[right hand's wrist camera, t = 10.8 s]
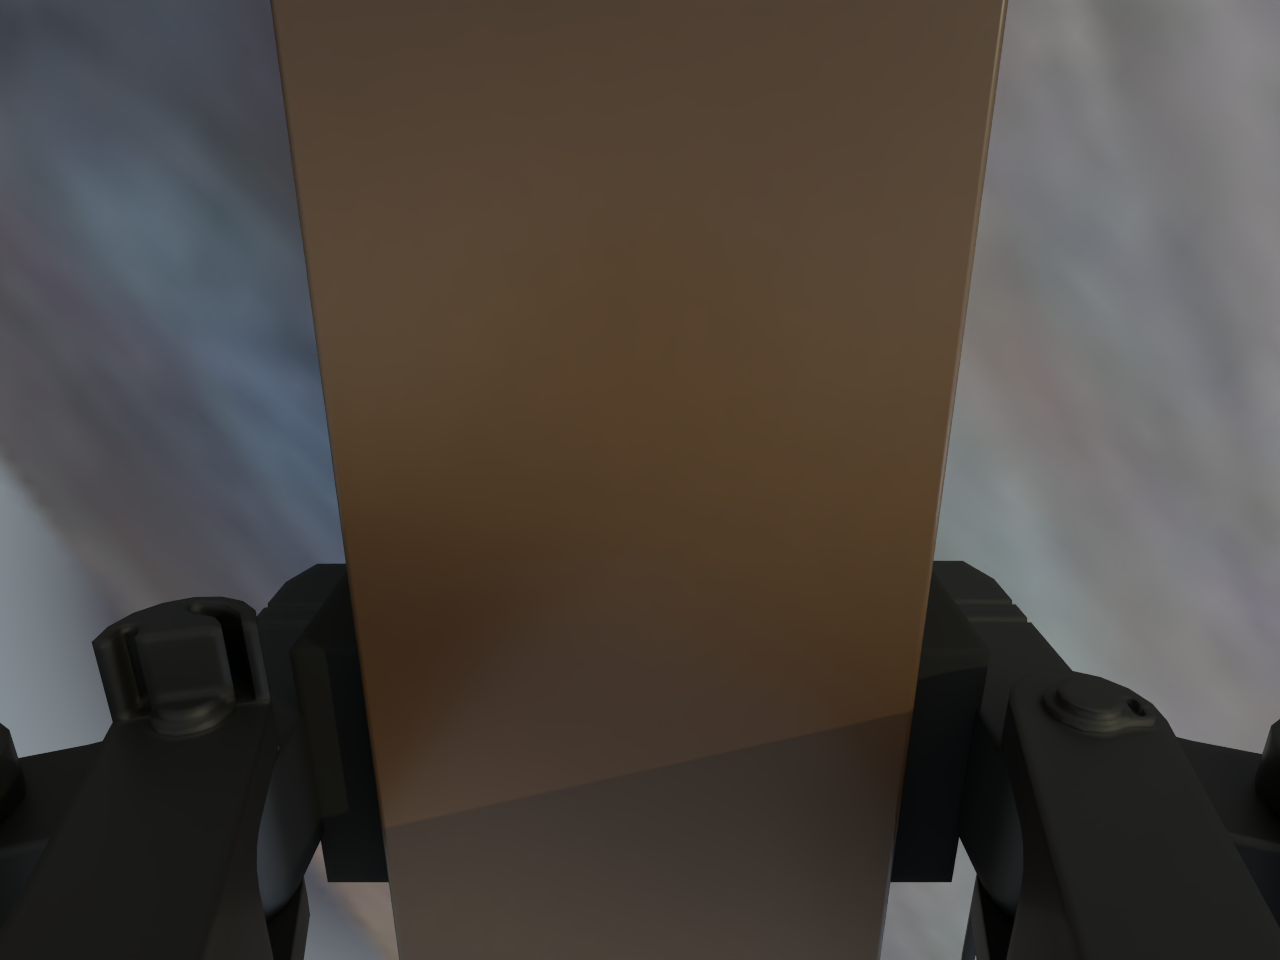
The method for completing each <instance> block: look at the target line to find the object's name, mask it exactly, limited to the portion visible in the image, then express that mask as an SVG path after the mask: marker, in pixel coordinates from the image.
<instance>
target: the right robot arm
mask: <svg viewBox="0 0 1280 960" xmlns="http://www.w3.org/2000/svg"><path fill="white" fill-rule="evenodd" d="M92 645H93V649H94V652H95V656H96V660H97V664H98V667H99V671H100V675H101V679H102V683H103V687H104V690H105V694H106V698H107V702H108V706H109V709H110V713H111V717H112V721H113V723H112V725H111V727H110V728H109V730H108V732H107V734H106V736H105V738H104V740H103V741H102V742H97V743H94V744H89V745H85V746H79V747H74V748H69V749H64V750H58V751H53V752H48V753H43V754H38V755H32V756H27V757H22V758H18V756H17V753H16V750H15V747H14V744H13V740H12V737H11V734H10V731H9V729H7V728H6V727H5V726H3V725H2V724H1V723H0V960H304V953H305V946H306V938H307V931H308V924H309V917H310V913H309V905H308V897H307V891H306V886H305V880H304V874H305V872H306V870H307V868H308V866H309V864H310V861H311V859H312V857H313V855H314V853H315V851H316V849H317V847H318V845H319V842H320V840H321V844H322V850H323V856H324V862H325V868H326V874H327V880H328V882H389V879H388V871H387V864H386V857H385V849H384V842H383V834H382V827H381V819H380V812H379V805H378V797H377V790H376V782H375V775H374V767H373V760H372V753H371V745H370V738H369V730H368V723H367V715H366V708H365V701H364V693H363V686H362V678H361V671H360V663H359V656H358V649H357V641H356V634H355V626H354V619H353V612H352V604H351V597H350V589H349V582H348V574H347V567H346V564H316V565H314V566H313V567H311V568H309V569H307V570H306V571H304V572H302V573H301V574H299V575H297V576H295V577H294V578H292V579H290V580H289V581H287V582H286V583H285V584H284V585H283V586H282V587H281V589H280V590H279V591H278V592H277V593H276V594H275V596H274V597H273V598H272V599H271V600H270V602H269V603H268V608H264V609H263V610H262V611H261V612H260V613H259V615H258V616H256V611H255V610H254V609H253V608H252V607H250V606H249V605H248V604H246V603H245V602H244V601H240V600H235V599H231V598H226V597H193V598H187V599H182V600H176V601H171V602H166V603H161V604H159V605H156V606H153V607H150V608H147V609H144V610H141V611H138V612H135V613H132V614H131V615H129V616H127V617H125V618H123V619H121V620H120V621H118V622H116V623H114V624H112V625H110V626H108V627H107V628H106V629H105V630H104V631H103V632H102V633H101V634H100V635H99V636H98V637H97V638H96V639H95V640H93V641H92ZM959 837H960V839H961V841H962V843H963V846H964V848H965V850H966V852H967V854H968V856H969V858H970V860H971V862H972V864H973V867H974V869H975V871H976V873H977V875H976V880H975V886H974V891H973V897H972V902H971V908H970V913H969V919H968V924H967V930H966V935H965V941H964V946H963V952H962V959H961V960H975V956H976V958H977V960H1280V719H1279V720H1278V721H1277V722H1276V723H1274V724H1273V725H1272V726H1271V728H1270V732H1269V735H1268V738H1267V741H1266V744H1265V747H1264V751H1263V754H1258V753H1253V752H1248V751H1242V750H1237V749H1232V748H1227V747H1221V746H1216V745H1211V744H1206V743H1200V742H1195V741H1190V740H1186V739H1182V738H1178V737H1176V736H1175V734H1174V732H1173V731H1172V729H1171V727H1170V725H1169V723H1168V721H1167V720H1166V719H1165V718H1164V717H1163V716H1162V714H1161V713H1160V712H1159V711H1158V710H1157V709H1156V707H1155V706H1154V705H1153V704H1152V703H1150V702H1149V701H1147V700H1146V699H1144V698H1143V697H1141V696H1139V695H1138V694H1136V693H1135V692H1133V691H1132V690H1130V689H1129V688H1126V687H1124V686H1121V685H1119V684H1116V683H1114V682H1111V681H1109V680H1106V679H1104V678H1101V677H1097V676H1093V675H1088V674H1084V673H1079V672H1074V671H1072V670H1071V669H1070V668H1069V666H1068V665H1067V664H1066V663H1065V662H1064V661H1063V659H1062V658H1061V657H1060V656H1059V655H1058V654H1057V652H1056V651H1055V650H1054V649H1053V648H1052V647H1051V645H1050V644H1049V643H1048V642H1047V641H1046V639H1045V638H1044V637H1043V636H1042V635H1041V634H1040V632H1039V631H1038V630H1037V629H1036V628H1035V627H1034V625H1033V624H1032V623H1027V617H1026V616H1025V615H1024V614H1023V613H1022V611H1021V610H1020V609H1019V608H1018V607H1017V606H1016V604H1012V600H1011V599H1010V597H1009V596H1008V595H1007V594H1006V593H1005V591H1004V590H1003V589H1002V588H1001V587H1000V586H999V584H998V583H997V582H996V581H995V580H994V579H993V578H991V577H989V576H988V575H986V574H984V573H983V572H981V571H979V570H977V569H976V568H974V567H972V566H971V565H969V564H967V563H965V562H964V561H933V566H932V574H931V581H930V589H929V596H928V604H927V611H926V619H925V626H924V634H923V641H922V649H921V656H920V664H919V671H918V679H917V686H916V693H915V701H914V708H913V716H912V723H911V731H910V738H909V746H908V753H907V761H906V768H905V776H904V783H903V791H902V798H901V806H900V813H899V821H898V828H897V836H896V843H895V851H894V858H893V865H892V873H891V880H890V882H952V876H953V870H954V864H955V858H956V853H957V847H958V841H959Z"/></svg>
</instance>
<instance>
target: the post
mask: <svg viewBox="0 0 1280 960" xmlns="http://www.w3.org/2000/svg"><path fill="white" fill-rule="evenodd" d="M270 3H271V10H272V17H273V25H274V32H275V40H276V47H277V54H278V62H279V69H280V77H281V84H282V92H283V99H284V106H285V114H286V121H287V129H288V136H289V144H290V151H291V158H292V166H293V173H294V181H295V188H296V196H297V203H298V210H299V218H300V225H301V233H302V240H303V248H304V255H305V262H306V270H307V277H308V285H309V292H310V300H311V307H312V314H313V322H314V329H315V337H316V344H317V352H318V359H319V366H320V374H321V381H322V389H323V396H324V404H325V411H326V418H327V426H328V433H329V441H330V448H331V456H332V463H333V470H334V478H335V485H336V493H337V500H338V508H339V515H340V522H341V530H342V537H343V545H344V552H345V560H346V567H347V574H348V582H349V589H350V597H351V604H352V612H353V619H354V626H355V634H356V641H357V649H358V656H359V663H360V671H361V678H362V686H363V693H364V701H365V708H366V715H367V723H368V730H369V738H370V745H371V753H372V760H373V767H374V775H375V782H376V790H377V797H378V805H379V812H380V819H381V827H382V834H383V842H384V849H385V857H386V864H387V871H388V879H389V886H390V894H391V901H392V909H393V916H394V923H395V931H396V938H397V946H398V953H399V960H880V955H881V948H882V940H883V933H884V925H885V918H886V910H887V903H888V895H889V888H890V880H891V873H892V865H893V858H894V851H895V843H896V836H897V828H898V821H899V813H900V806H901V798H902V791H903V783H904V776H905V768H906V761H907V753H908V746H909V738H910V731H911V723H912V716H913V708H914V701H915V693H916V686H917V679H918V671H919V664H920V656H921V649H922V641H923V634H924V626H925V619H926V611H927V604H928V596H929V589H930V581H931V574H932V566H933V559H934V551H935V544H936V536H937V529H938V522H939V514H940V507H941V499H942V492H943V484H944V477H945V469H946V462H947V454H948V447H949V439H950V432H951V424H952V417H953V409H954V402H955V394H956V387H957V379H958V372H959V364H960V357H961V350H962V342H963V335H964V327H965V320H966V312H967V305H968V297H969V290H970V282H971V275H972V267H973V260H974V252H975V245H976V237H977V230H978V222H979V215H980V207H981V200H982V193H983V185H984V178H985V170H986V163H987V155H988V148H989V140H990V133H991V125H992V118H993V110H994V103H995V95H996V88H997V80H998V73H999V65H1000V58H1001V50H1002V43H1003V35H1004V28H1005V21H1006V13H1007V6H1008V0H270Z"/></svg>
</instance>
